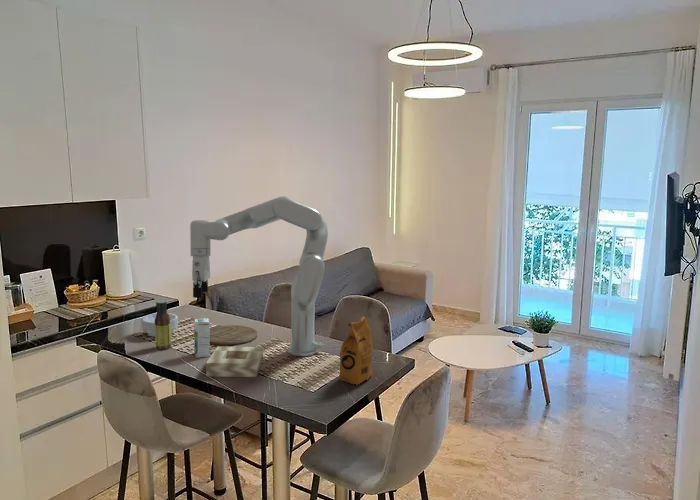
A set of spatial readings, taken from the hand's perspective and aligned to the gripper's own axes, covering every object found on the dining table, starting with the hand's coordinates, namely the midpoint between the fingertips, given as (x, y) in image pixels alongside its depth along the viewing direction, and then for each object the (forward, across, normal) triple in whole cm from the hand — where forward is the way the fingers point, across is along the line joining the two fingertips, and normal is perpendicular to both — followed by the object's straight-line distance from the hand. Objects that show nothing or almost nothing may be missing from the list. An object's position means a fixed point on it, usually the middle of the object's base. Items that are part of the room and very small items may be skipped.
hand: (200, 294), depth 206 cm
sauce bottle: (+25, +8, +18) cm, 32 cm away
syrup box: (+25, 0, 0) cm, 25 cm away
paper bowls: (+25, +26, +24) cm, 44 cm away
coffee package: (+24, -22, -62) cm, 70 cm away
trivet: (+25, +24, -6) cm, 36 cm away
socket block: (+25, -13, -16) cm, 32 cm away
